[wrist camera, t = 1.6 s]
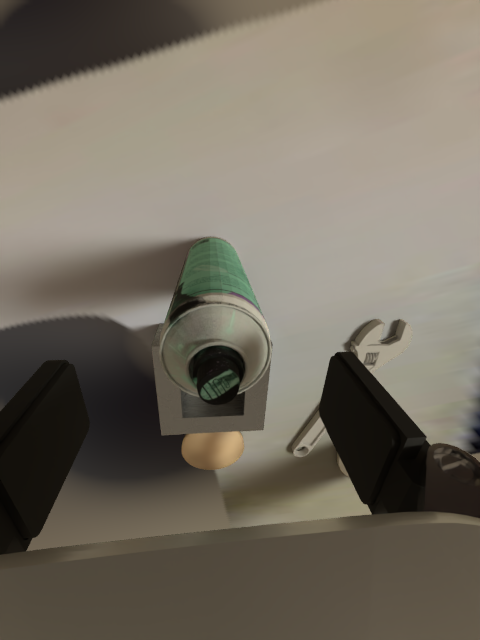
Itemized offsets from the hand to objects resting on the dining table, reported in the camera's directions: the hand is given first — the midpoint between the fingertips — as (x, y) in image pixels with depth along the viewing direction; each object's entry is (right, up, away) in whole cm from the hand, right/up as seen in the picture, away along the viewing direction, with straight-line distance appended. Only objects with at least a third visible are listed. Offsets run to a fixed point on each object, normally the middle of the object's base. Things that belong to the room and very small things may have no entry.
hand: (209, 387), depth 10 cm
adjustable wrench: (+15, -7, +28) cm, 33 cm away
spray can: (-2, +9, +18) cm, 21 cm away
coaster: (-3, -16, +30) cm, 34 cm away
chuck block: (-2, -3, +24) cm, 24 cm away
